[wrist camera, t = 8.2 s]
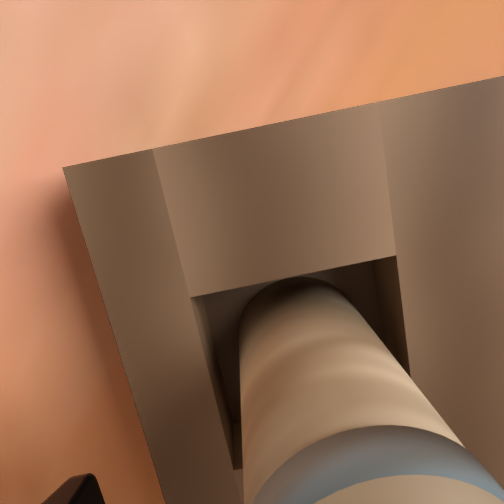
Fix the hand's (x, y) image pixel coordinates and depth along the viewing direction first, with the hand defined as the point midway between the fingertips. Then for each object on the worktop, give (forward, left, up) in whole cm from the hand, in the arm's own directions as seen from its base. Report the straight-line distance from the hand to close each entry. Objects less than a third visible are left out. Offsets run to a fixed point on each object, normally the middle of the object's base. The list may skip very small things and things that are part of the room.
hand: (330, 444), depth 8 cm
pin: (0, 0, -5) cm, 5 cm away
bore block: (-5, 0, -5) cm, 7 cm away
